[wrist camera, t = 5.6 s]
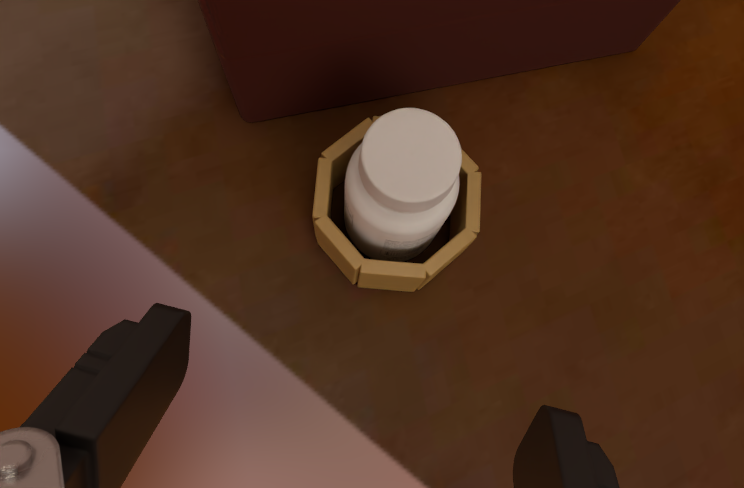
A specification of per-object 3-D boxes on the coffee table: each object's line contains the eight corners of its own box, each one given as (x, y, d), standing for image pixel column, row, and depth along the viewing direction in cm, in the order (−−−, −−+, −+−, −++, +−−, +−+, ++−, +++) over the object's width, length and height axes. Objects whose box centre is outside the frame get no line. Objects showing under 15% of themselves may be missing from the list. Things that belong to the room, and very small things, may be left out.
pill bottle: (455, 210, 26) (501, 143, 19) (400, 283, 25) (426, 242, 18) (381, 156, 27) (397, 69, 19) (324, 226, 26) (319, 162, 18)
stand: (459, 296, 25) (478, 283, 22) (310, 283, 25) (306, 268, 22) (465, 157, 27) (483, 125, 24) (325, 144, 27) (323, 110, 23)
